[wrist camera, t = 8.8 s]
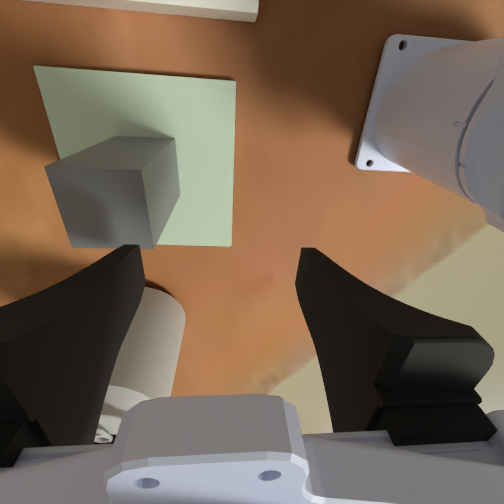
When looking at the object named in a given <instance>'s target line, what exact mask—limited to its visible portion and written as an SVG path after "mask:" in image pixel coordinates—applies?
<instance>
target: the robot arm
mask: <svg viewBox="0 0 504 504" xmlns="http://www.w3.org/2000/svg"><path fill="white" fill-rule="evenodd" d="M401 41H403V42H404V47H403V49H402V50H399V43H400V42H401ZM368 160H371V163H370V164H369V165H366V162H367V161H368ZM355 166H356V167H357V168H358V169H361V170H379V171H398V172H413V173H415V174H417V175H419V176H421V177H423V178H425V179H427V180H429V181H431V182H433V183H435V184H437V185H439V186H441V187H443V188H445V189H447V190H449V191H451V192H453V193H455V194H457V195H459V196H461V197H463V198H465V199H467V200H469V201H471V202H473V203H476V204H478V205H479V206H480V207H481V208H482V209H483V210H484V212H485V216H486V223H488V224H490V225H492V226H494V227H496V228H497V229H499V230H501V231H503V232H504V36H503V37H497V38H492V39H486V40H480V41H465V40H455V39H444V38H434V37H423V36H413V35H402V34H395V35H392V36H390V37H389V38H388V39H387V40H386V42H385V45H384V48H383V52H382V56H381V60H380V64H379V68H378V72H377V76H376V80H375V84H374V88H373V92H372V96H371V100H370V104H369V108H368V112H367V115H366V119H365V123H364V127H363V131H362V135H361V139H360V143H359V147H358V151H357V155H356V159H355ZM145 283H146V281H145V275H144V269H143V263H142V258H141V252H140V246H139V245H138V244H124V245H122V246H120V247H119V248H117V249H115V250H114V251H112V252H111V253H109V254H107V255H106V256H104V257H103V258H101V259H99V260H98V261H96V262H95V263H93V264H91V265H90V266H88V267H86V268H85V269H83V270H81V271H79V272H78V273H76V274H74V275H72V276H71V277H69V278H67V279H65V280H63V281H61V282H59V283H57V284H55V285H53V286H51V287H49V288H47V289H44V290H42V291H40V292H38V293H35V294H33V295H30V296H28V297H25V298H23V299H20V300H18V301H15V302H13V303H10V304H7V305H5V306H2V307H0V504H504V410H497V411H493V412H490V413H488V414H485V413H484V412H483V411H482V409H481V408H480V407H479V406H478V404H480V403H481V402H482V399H481V397H480V396H479V395H478V393H477V392H476V391H475V390H474V388H475V387H476V385H477V384H478V383H479V382H480V380H481V379H482V378H483V377H484V375H485V374H486V373H487V372H488V370H489V369H490V367H491V365H492V364H493V359H494V351H493V348H492V347H491V346H490V345H489V344H488V343H487V342H486V341H485V340H484V339H483V338H482V337H481V336H480V334H479V333H478V332H477V331H475V329H474V328H472V327H471V326H468V325H465V324H462V323H458V322H455V321H452V320H448V319H445V318H442V317H439V316H435V315H433V314H430V313H427V312H425V311H422V310H419V309H417V308H414V307H412V306H409V305H407V304H404V303H402V302H400V301H398V300H396V299H394V298H391V297H389V296H387V295H385V294H383V293H381V292H380V291H378V290H376V289H374V288H372V287H370V286H369V285H367V284H365V283H364V282H362V281H361V280H359V279H357V278H356V277H354V276H353V275H351V274H350V273H349V272H347V271H346V270H344V269H343V268H341V267H340V266H339V265H337V264H336V263H335V262H333V261H332V260H331V259H330V258H328V257H327V256H326V255H324V254H323V253H322V252H320V251H319V250H317V249H316V248H301V254H300V259H299V265H298V270H297V276H296V281H295V285H296V291H297V295H298V300H299V303H300V306H301V309H302V312H303V315H304V318H305V320H306V323H307V326H308V328H309V331H310V334H311V337H312V339H313V342H314V345H315V349H316V352H317V356H318V360H319V364H320V369H321V373H322V377H323V382H324V386H325V391H326V396H327V401H328V406H329V411H330V416H331V422H332V427H333V433H321V434H302V433H301V429H300V424H299V419H298V415H297V410H296V407H295V406H294V405H292V404H291V403H289V402H288V401H286V400H284V399H283V398H281V397H279V396H274V395H266V394H239V395H210V396H180V397H160V398H155V399H150V400H145V401H141V402H139V403H138V404H136V405H135V406H133V407H132V408H130V409H129V410H128V411H126V412H125V413H123V416H122V420H121V423H120V426H119V429H118V432H117V435H116V438H115V441H114V444H95V445H93V444H94V440H95V435H96V431H97V427H98V423H99V419H100V415H101V412H102V408H103V404H104V400H105V396H106V393H107V389H108V386H109V382H110V379H111V376H112V372H113V369H114V366H115V363H116V359H117V356H118V353H119V351H120V348H121V346H122V343H123V341H124V339H125V336H126V334H127V332H128V330H129V327H130V325H131V323H132V320H133V318H134V316H135V314H136V311H137V309H138V307H139V304H140V302H141V298H142V295H143V291H144V287H145Z"/></svg>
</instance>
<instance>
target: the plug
mask: <svg viewBox="0 0 504 504" xmlns="http://www.w3.org/2000/svg"><path fill="white" fill-rule="evenodd" d="M45 170H46V173H47V176H48V179H49V182H50V185H51V188H52V191H53V194H54V196H55V199H56V202H57V205H58V208H59V211H60V214H61V217H62V220H63V223H64V225H65V228H66V231H67V234H68V237H69V240H70V243H71V246H72V248H119V247H120V246H122V245H124V244H138V245H139V246H140V249H154V248H155V246H156V244H157V242H158V240H159V238H160V236H161V234H162V232H163V230H164V228H165V226H166V224H167V221H168V219H169V217H170V215H171V213H172V211H173V209H174V207H175V205H176V203H177V201H178V199H179V197H180V185H179V174H178V163H177V153H176V142H175V138H152V137H126V136H114V137H111V138H109V139H107V140H104V141H102V142H100V143H97V144H95V145H93V146H91V147H88V148H86V149H84V150H81V151H79V152H77V153H75V154H72V155H70V156H68V157H65V158H63V159H61V160H58V161H56V162H54V163H52V164H49V165H47V166H45Z"/></svg>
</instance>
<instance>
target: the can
mask: <svg viewBox="0 0 504 504" xmlns="http://www.w3.org/2000/svg"><path fill="white" fill-rule="evenodd" d="M185 322H186V319H185V312H184V310H183V308H182V306H181V305H180V303H179V302H178V301H176V300H175V299H174V298H173V297H172V296H171V295H169V294H167V293H165V292H163V291H161V290H157V289H153V288H149V287H144V291H143V295H142V298H141V302H140V304H139V307H138V309H137V311H136V314H135V316H134V318H133V320H132V323H131V325H130V327H129V330H128V332H127V334H126V336H125V339H124V341H123V343H122V346H121V348H120V351H119V353H118V356H117V359H116V363H115V366H114V369H113V372H112V376H111V379H110V382H109V386H108V389H107V393H106V396H105V400H104V404H103V408H102V412H101V415H100V419H99V423H98V427H97V431H96V435H95V440H94V444H93V445H95V444H114V441H115V438H116V435H117V432H118V429H119V426H120V423H121V420H122V416H123V413H125V412H126V411H128V410H129V409H130V408H132V407H133V406H135V405H136V404H138V403H139V402H141V401H145V400H150V399H155V398H160V397H170V396H171V391H172V386H173V381H174V376H175V371H176V366H177V361H178V357H179V352H180V347H181V342H182V337H183V332H184V327H185Z"/></svg>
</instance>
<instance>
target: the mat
mask: <svg viewBox="0 0 504 504" xmlns="http://www.w3.org/2000/svg"><path fill="white" fill-rule="evenodd" d="M33 68H34V71H35V75H36V78H37V81H38V85H39V88H40V92H41V95H42V99H43V102H44V106H45V109H46V112H47V116H48V119H49V123H50V126H51V130H52V133H53V136H54V140H55V143H56V147H57V150H58V154H59V157H60V160H61V159H63V158H65V157H68V156H70V155H72V154H75V153H77V152H79V151H81V150H84V149H86V148H88V147H91V146H93V145H95V144H97V143H100V142H102V141H104V140H107V139H109V138H111V137H114V136H126V137H152V138H175V142H176V153H177V163H178V174H179V185H180V197H179V199H178V201H177V203H176V205H175V207H174V209H173V211H172V213H171V215H170V217H169V219H168V221H167V224H166V226H165V228H164V230H163V232H162V234H161V236H160V238H159V240H158V242H157V244H163V245H199V246H231V240H232V206H233V172H234V138H235V104H236V81H229V80H216V79H203V78H190V77H177V76H164V75H151V74H138V73H124V72H111V71H98V70H85V69H72V68H59V67H46V66H33Z"/></svg>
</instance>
